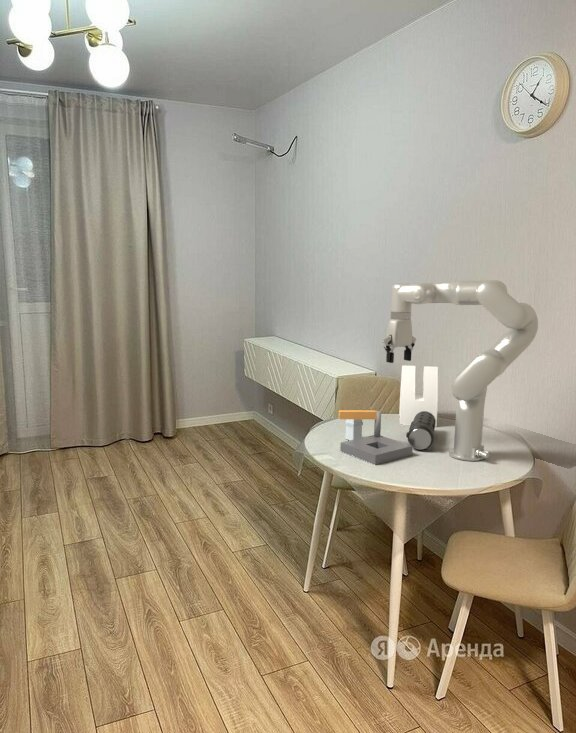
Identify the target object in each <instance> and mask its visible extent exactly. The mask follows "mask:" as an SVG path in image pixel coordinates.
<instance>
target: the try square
mask: <svg viewBox="0 0 576 733" xmlns="http://www.w3.org/2000/svg"><path fill="white" fill-rule="evenodd" d="M346 419H362V420H374V424H373V425H374V426H373V427H374V428H373V430H374V432H373V435H374V436H377V437H379V436H380V435H381V430H382V426H381V425H382V410H374V409H373V410H371V409H370V410H367V409H366V410H365V409H364V410H340V409H339V410H338V420H346Z"/></svg>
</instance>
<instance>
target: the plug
mask: <svg viewBox="0 0 576 733" xmlns="http://www.w3.org/2000/svg"><path fill="white" fill-rule="evenodd" d="M344 424H345V438H346V439H349V440H354V439H359V438H363V426H364V421H363V419H345V421H344ZM345 438H344V439H345Z"/></svg>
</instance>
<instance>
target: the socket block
mask: <svg viewBox="0 0 576 733" xmlns="http://www.w3.org/2000/svg"><path fill="white" fill-rule="evenodd" d="M339 448H340V451H342V452H341V453H343V452H344V453H343V454H345V453H347V454H346V455H348V454H350V455H349V456H351V455H353V456H355V457H354V458H356V457H358V458H360V459H359V460H361V459H363V460H362V461H364V460H365V461H364V462H366V461H367V463H369V462H370V463H369V464H371V463H372V464H371V465H374V464H375V465H374V466H377V465H380V463H381V464H384V463H387V462H391V461H396V460H398V459H403V458H406V457H410V456H413V449H414V448H413V446H411V445H410V444H408V443H405V442H402V441H400V440H396V439H392V438H389V437H387V436H385V435H384V436H383V435H382V434H380V436H379V437H377V436H374V434H373V435H369V436H362V438H359V439H354V440H350V441H347V440H345V441H341V442H340V446H339ZM353 456H352V457H353ZM358 458H357V459H358ZM376 464H377V465H376Z"/></svg>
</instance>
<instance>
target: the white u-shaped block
mask: <svg viewBox="0 0 576 733" xmlns="http://www.w3.org/2000/svg"><path fill="white" fill-rule="evenodd" d="M438 370H439V368H438V366H430V365H429V366H428V365H426V366H425V365H424V366H423V374H422V380H421V381H422V382H421V391H416V365H408V364H407V365H401V376H400V377H401V378H400V389H399V393H400V394H399V409H398V410H399V412H398V417H399V416H400V418H399V425H400V424H403V425H411V422H412V421H413V420H414V418H415V416H416V415H417V414H418V413H419V412H422V411H427V412H430V413H431V414H432V415H433V416H434V417H435V420H436V424H435V426H436V427H437V425H438V424H437V423H438V422H437V421H438V420H437V419H438V407H439V406H438V404H439V402H438V401H439V382H438V381H439V377H438V376H439V374H438V373H439V371H438ZM403 425H402V426H403Z"/></svg>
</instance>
